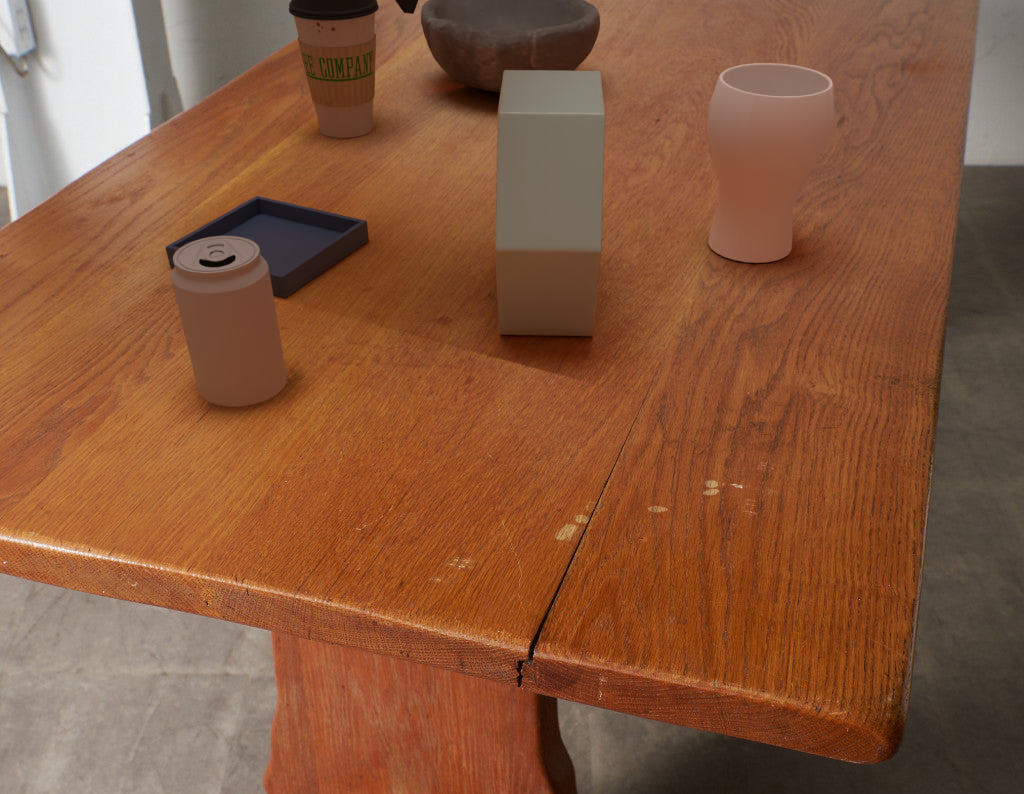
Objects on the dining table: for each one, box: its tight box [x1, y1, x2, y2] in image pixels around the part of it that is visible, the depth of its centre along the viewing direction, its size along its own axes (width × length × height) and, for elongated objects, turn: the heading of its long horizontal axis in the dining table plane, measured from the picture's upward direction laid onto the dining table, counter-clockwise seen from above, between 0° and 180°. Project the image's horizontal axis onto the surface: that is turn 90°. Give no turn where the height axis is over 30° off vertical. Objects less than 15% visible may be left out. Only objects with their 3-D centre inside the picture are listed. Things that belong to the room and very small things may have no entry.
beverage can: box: [170, 236, 288, 408], centre depth 71 cm, size 6×6×12 cm
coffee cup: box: [288, 0, 380, 139], centre depth 115 cm, size 10×10×15 cm
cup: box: [706, 62, 835, 264], centre depth 90 cm, size 11×11×15 cm
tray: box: [165, 195, 370, 299], centre depth 93 cm, size 13×13×2 cm
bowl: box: [420, 0, 601, 93], centre depth 128 cm, size 23×22×10 cm
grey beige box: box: [494, 70, 606, 337], centre depth 81 cm, size 17×8×21 cm
